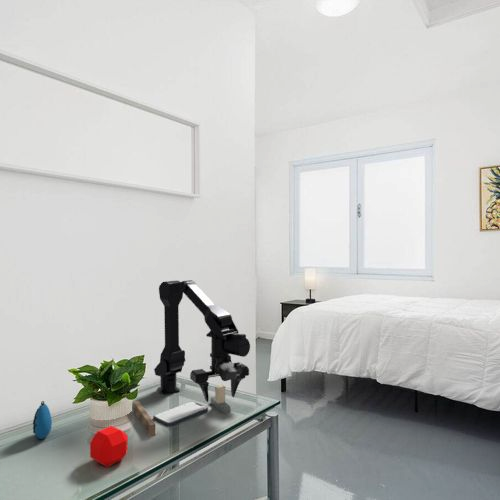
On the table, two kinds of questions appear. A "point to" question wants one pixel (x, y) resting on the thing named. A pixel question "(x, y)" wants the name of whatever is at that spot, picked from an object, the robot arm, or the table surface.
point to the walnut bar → (144, 418)
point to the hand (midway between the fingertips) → (220, 399)
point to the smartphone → (180, 413)
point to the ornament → (42, 421)
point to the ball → (109, 446)
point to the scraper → (220, 399)
